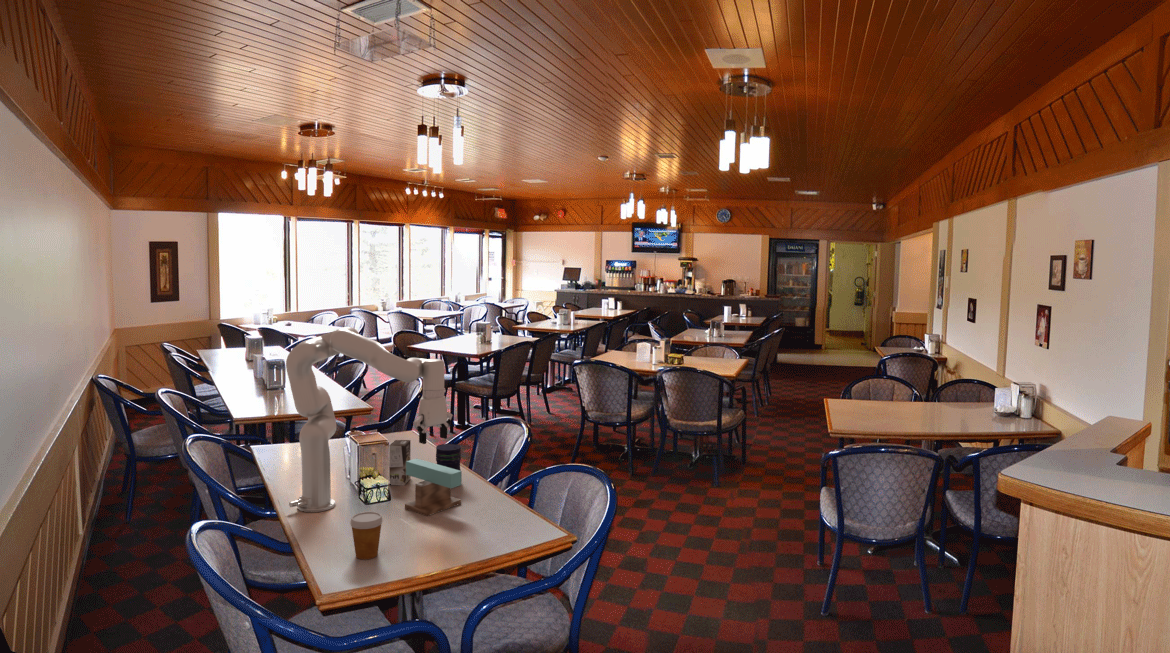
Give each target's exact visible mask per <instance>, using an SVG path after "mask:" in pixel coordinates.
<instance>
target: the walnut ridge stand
mask: <svg viewBox="0 0 1170 653" xmlns="http://www.w3.org/2000/svg"><path fill="white" fill-rule="evenodd" d="M414 489H415V491H414V492H415V493H414V494H415V495H414V496H415V498H414V500H413V501H410V502H407V503H404V509H406V510H409V511H411V512H415V513H418V514H420V515H423V516H425V517H428V515H429V516H431V515H430V514H432V515H434V514H437V513H439V512H438V511H440V512H442V511H441V510H443V511H445V510H444V509H446V510H448V509H450V508H449V507H451V508H453V507H452V506H454V505H457V504H459V505H461V504H462V499H460V498H457V497H454V496H452V495H451V492H452V488H448V487H445V486H441V485H438V484H435V483H432V482H428V481H425V480H422V481H419V482H416V483H415V484H414ZM460 503H461V504H460ZM457 506H458V505H457ZM454 507H455V506H454ZM447 508H448V509H447ZM436 512H437V513H436ZM433 513H434V514H433Z"/></svg>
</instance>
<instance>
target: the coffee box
mask: <svg viewBox="0 0 1170 653" xmlns="http://www.w3.org/2000/svg"><path fill="white" fill-rule="evenodd" d="M388 446H389V448H388V452H389V456H388V457H389V458H388V460H389V461H388V466H389V468H388V470H389V472H388V476H389V477H388V478H389V479H388V482H389V481H390V484H391V485H390V486H406V484H407V483H408V482H409V481H410V480H411V477H412V476H409V475H406V461H409V460H411V439H395V440H393V442H391V443H390V444H389V445H388Z"/></svg>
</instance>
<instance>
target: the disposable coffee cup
mask: <svg viewBox="0 0 1170 653" xmlns="http://www.w3.org/2000/svg"><path fill="white" fill-rule="evenodd" d="M383 521H384V518H383V516H382V514H381V513H380V512H377V511H363V512H362V511H361V512H358V513H356V514H353V515H352V516H351V518H350V521H349V524H350V527H351V533H352V539H353V545H354V552H355V558H356V559H359V560H365V561H366V560H371V559H374V558H375V557H377V556H378V555H379V547H380V545H379V544H380V537H381V530H382V524H383Z"/></svg>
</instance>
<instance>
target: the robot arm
mask: <svg viewBox="0 0 1170 653" xmlns="http://www.w3.org/2000/svg"><path fill="white" fill-rule="evenodd" d="M340 354H342V355H344V356H347V357H349V358H352V359H354V360H356V361H359V362H362V363H364V364H366V365H369V366H370V367H372V368H373V369H375V370H377V371H379V372H380V373H382V374H384V375H386V376H389V377H390V378H393V379H396V380H398V381H401V382H404V383H413V382H415V381H416V380H418V379H419V378H422V397H421V398H420V401H419V405H418V414H417V416H418V417H417V418H416V419H415V420H414V421H413V422H412V423H413V426H414V428H415V430H416V432H418V443H419V444H422V445H427V430H428V428H430V427H435V426H440V427H439V438H440V439H445V440H447V439H448V428H449V427H450V426H449V425H450V423H451V422H452V418H453V414H452V413H451V412H449V411H448V407H447V399H446V396H445V393H446V391H447V390H446V388H445V362H444V360H443V359H440V358H428V359H427V358H419V357H409V358H407V359H405V358H402V357H400V356H397V355H396V354H393V353H391V352H389V351H388V350H387V349H386V348H385V347H384V345H383V344H382V343H380V342H378V341H376V340H374V339H372V338H369V337H366V336H365V335H361V334H360V333H359V331H358V330H357V329H356V328H354V327H352V326H343V327H341V328H338V329H336V330H333V331H330V332H327V333H324V334H322V335H318V336H315V337H312V338H310V339H306V340H304V341H302V342H300V343H298V344H297V345H296V346H295V347H293V348H292V349H291V350H290V352H289V354H288V355H287V357H286V361H285V368H286V373H287V376H288V382H289V385H290V390H291V393H292V394H291V395H292V398H293V402H294V406H295V410H296V411H297V413H298V415H299V416H301V417H303V418H307V422H305V423H304V425H302V427H301V429H300V430H299V431H300V432H299V438H298V440H299V447H300V453H301V454H300V455H301V458H300V459H301V491H302V493H301V495H299V497H298V498H297V500H294V501H289V504H288V506H289V508H294V507H295V508H296V507H297V510H299V511H300V512H303V511H304V513H319V512H324V511H329V510H330V509H333V508H334V507H335V506H336V500H335V499H333V498H332V497H331V491H332V490H331V485H332V484H331V480H332V479H331V451H330V444H329V440H330V439H331V438H332V437H333V436H334V435H335V433H336V430H337V422H336V421H337V420H336V419H337V418H336V417H335V416H336V415H335V413H334V408H333V404H332V400H331V396H330V393H329V392H328V391H327V390H326V389H325V388H324V387H322V386H319V385H318V383H317V379H316V376H315V373H314V371H313V368H312V367H313V366H314V364H316V363H318V362H322V361H324V360H325V359H327V358H331V357H333V356H337V355H340Z"/></svg>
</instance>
